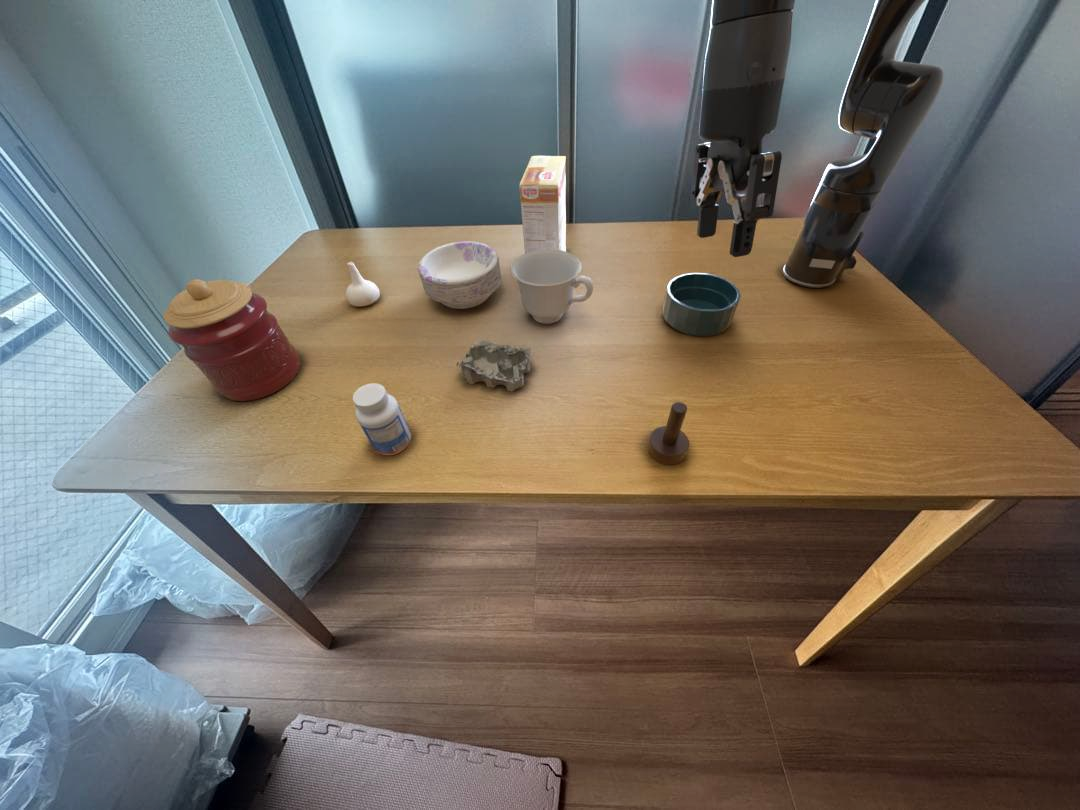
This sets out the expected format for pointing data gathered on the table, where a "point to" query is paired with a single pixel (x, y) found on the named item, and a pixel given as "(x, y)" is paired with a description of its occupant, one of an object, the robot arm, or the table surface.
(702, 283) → the bowl
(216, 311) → the kitchen canister
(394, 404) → the pill bottle
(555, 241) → the coffeecake box
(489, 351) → the egg carton
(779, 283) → the table surface
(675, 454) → the coffee tamper
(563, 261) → the teacup
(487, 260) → the paper bowls
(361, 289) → the garlic bulb
